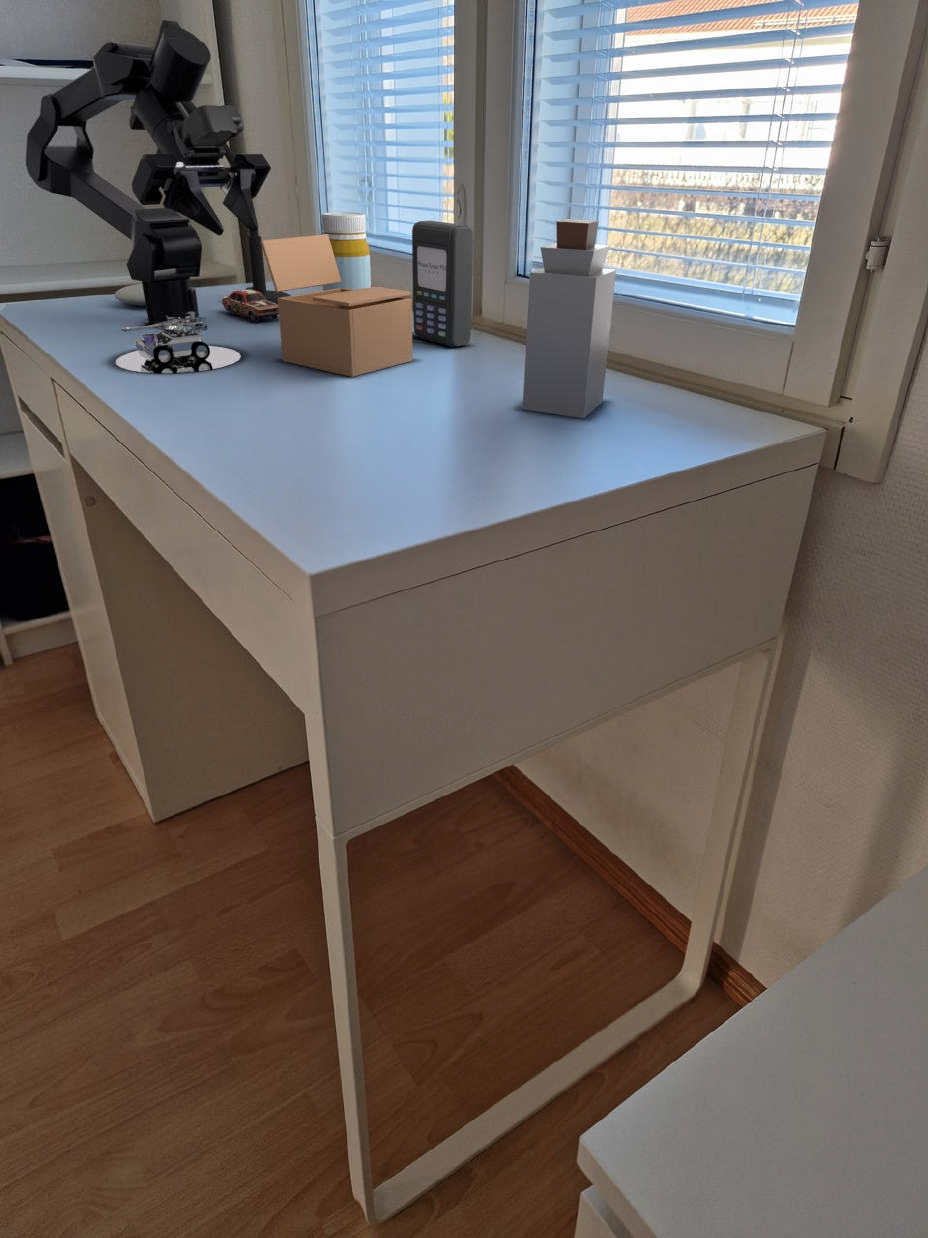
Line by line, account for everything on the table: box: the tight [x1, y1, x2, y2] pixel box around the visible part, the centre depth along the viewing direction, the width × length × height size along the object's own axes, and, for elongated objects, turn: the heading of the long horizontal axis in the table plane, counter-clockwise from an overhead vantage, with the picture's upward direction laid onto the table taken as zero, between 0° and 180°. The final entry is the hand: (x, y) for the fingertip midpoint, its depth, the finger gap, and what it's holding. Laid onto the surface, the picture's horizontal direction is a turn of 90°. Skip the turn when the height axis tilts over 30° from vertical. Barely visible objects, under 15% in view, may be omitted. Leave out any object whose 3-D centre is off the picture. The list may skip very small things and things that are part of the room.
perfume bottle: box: [522, 218, 617, 419], centre depth 85 cm, size 7×7×18 cm
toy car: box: [115, 309, 241, 374], centre depth 104 cm, size 15×15×5 cm
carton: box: [278, 286, 413, 378], centre depth 103 cm, size 12×11×8 cm
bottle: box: [321, 211, 372, 291], centre depth 122 cm, size 7×7×15 cm
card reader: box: [411, 220, 475, 348], centre depth 113 cm, size 9×4×15 cm, turn 41°
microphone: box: [180, 101, 292, 305], centre depth 138 cm, size 12×23×30 cm, turn 28°
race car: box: [221, 289, 279, 323], centre depth 128 cm, size 5×12×5 cm, turn 36°
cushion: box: [114, 283, 146, 307], centre depth 136 cm, size 12×12×3 cm
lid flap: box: [260, 234, 341, 292], centre depth 104 cm, size 6×11×1 cm
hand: (239, 231), depth 108 cm, fingers open, 5 cm apart
